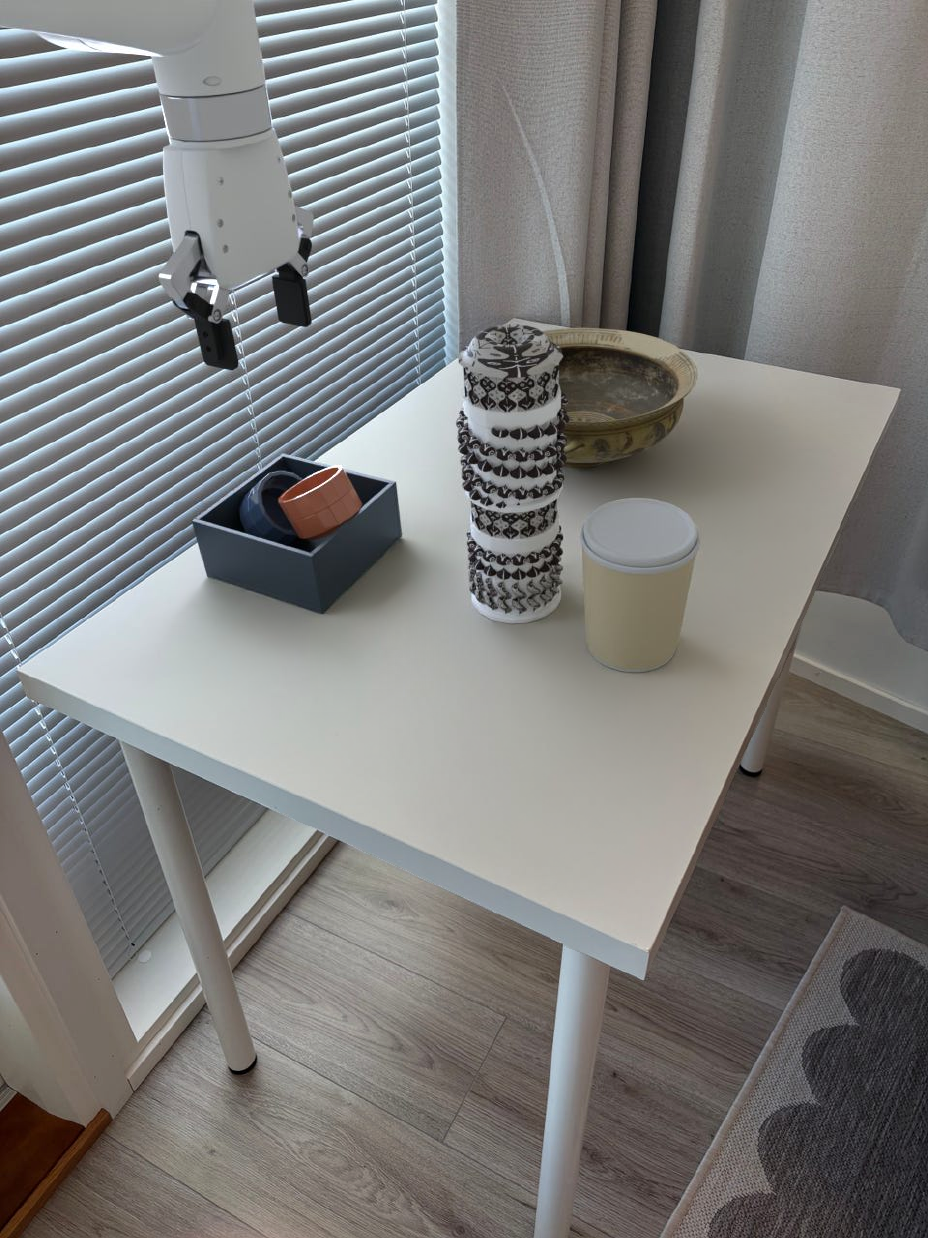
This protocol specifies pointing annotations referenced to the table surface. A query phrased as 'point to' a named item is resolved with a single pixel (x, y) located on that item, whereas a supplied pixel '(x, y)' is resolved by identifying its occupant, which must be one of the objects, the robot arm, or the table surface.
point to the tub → (300, 542)
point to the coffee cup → (636, 581)
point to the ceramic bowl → (618, 391)
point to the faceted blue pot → (269, 509)
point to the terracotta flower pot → (320, 503)
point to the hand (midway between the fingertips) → (260, 344)
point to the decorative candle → (513, 471)
